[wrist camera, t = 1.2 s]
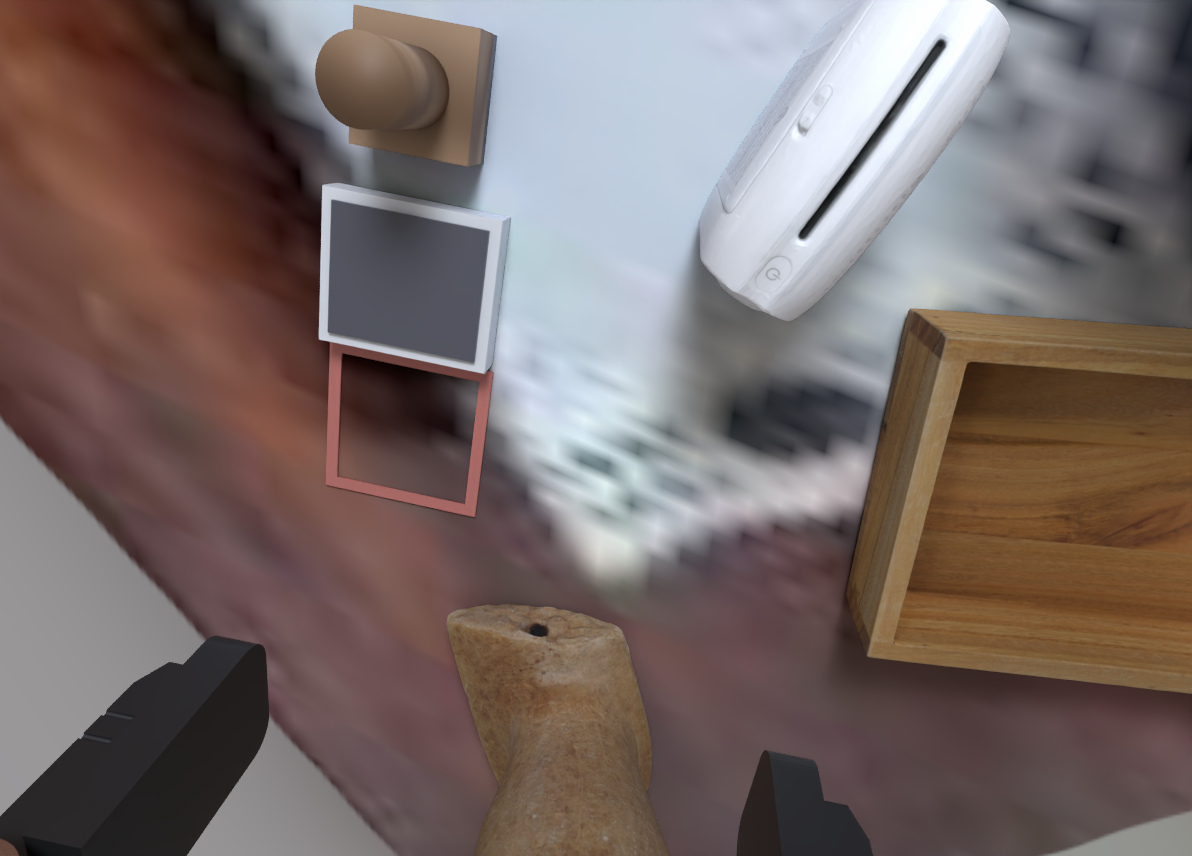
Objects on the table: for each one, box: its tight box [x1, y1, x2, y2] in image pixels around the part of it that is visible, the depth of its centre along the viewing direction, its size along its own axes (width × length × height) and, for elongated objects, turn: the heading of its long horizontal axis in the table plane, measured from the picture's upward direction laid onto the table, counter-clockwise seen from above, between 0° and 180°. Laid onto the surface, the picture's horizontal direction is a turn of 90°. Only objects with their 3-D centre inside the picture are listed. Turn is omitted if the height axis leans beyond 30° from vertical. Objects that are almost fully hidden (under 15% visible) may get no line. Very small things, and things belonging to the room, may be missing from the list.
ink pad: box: [319, 183, 511, 374], centre depth 33 cm, size 7×8×2 cm
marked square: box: [326, 342, 493, 517], centre depth 37 cm, size 8×8×1 cm
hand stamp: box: [315, 5, 497, 167], centre depth 27 cm, size 5×5×8 cm
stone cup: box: [447, 604, 670, 856], centre depth 36 cm, size 15×12×15 cm
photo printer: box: [699, 0, 1010, 321], centre depth 24 cm, size 10×4×12 cm, turn 148°
